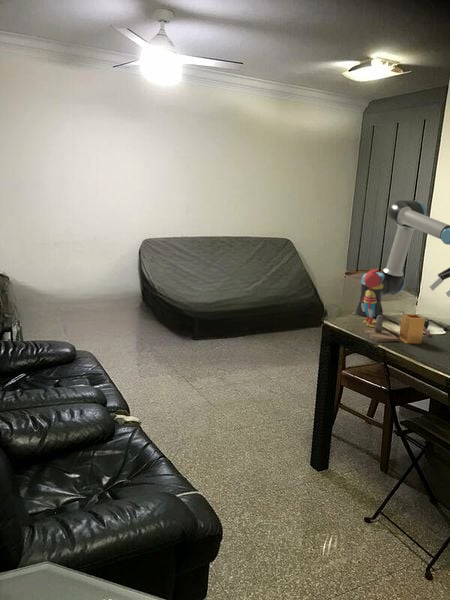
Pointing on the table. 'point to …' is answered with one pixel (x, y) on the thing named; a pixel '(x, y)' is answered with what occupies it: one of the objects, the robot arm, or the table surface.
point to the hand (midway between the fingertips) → (438, 291)
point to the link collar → (411, 328)
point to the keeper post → (380, 332)
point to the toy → (371, 296)
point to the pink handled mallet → (426, 328)
